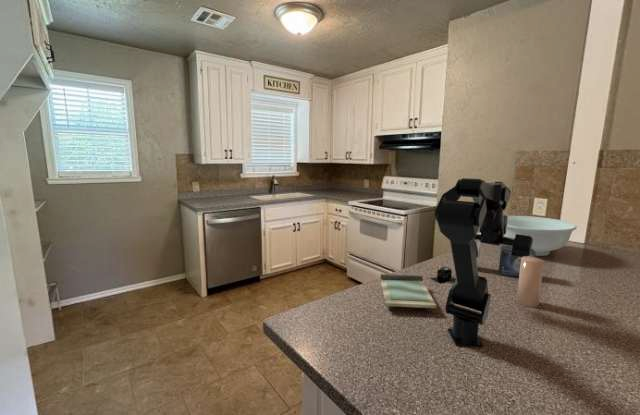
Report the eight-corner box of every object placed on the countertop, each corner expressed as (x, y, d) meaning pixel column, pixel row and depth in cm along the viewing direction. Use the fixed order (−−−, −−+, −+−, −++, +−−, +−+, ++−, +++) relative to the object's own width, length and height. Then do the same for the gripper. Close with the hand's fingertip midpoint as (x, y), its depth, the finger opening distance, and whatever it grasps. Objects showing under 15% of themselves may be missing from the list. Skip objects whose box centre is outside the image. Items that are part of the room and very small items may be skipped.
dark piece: (438, 286, 105) (439, 274, 104) (423, 279, 111) (424, 267, 110) (464, 280, 110) (464, 269, 109) (448, 273, 116) (449, 262, 115)
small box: (499, 275, 113) (501, 249, 111) (498, 269, 118) (500, 244, 117) (533, 280, 108) (536, 253, 106) (530, 274, 114) (533, 248, 112)
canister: (542, 307, 88) (548, 263, 86) (522, 306, 89) (527, 262, 87) (531, 298, 94) (536, 256, 92) (512, 298, 95) (517, 256, 92)
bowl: (474, 245, 152) (477, 217, 149) (522, 239, 161) (525, 213, 159) (536, 266, 122) (541, 232, 119) (590, 258, 131) (595, 226, 129)
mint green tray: (435, 314, 85) (436, 300, 84) (386, 312, 86) (386, 298, 86) (421, 287, 103) (422, 275, 102) (380, 286, 104) (380, 274, 103)
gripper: (537, 207, 81) (535, 247, 89) (464, 201, 93) (468, 237, 101) (529, 234, 75) (528, 275, 83) (453, 223, 87) (458, 260, 95)
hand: (493, 260), depth 91 cm, fingers open, 9 cm apart
